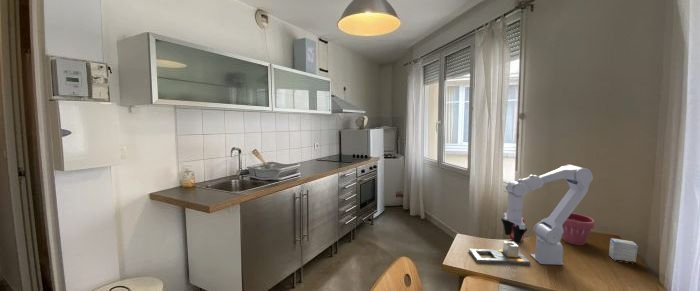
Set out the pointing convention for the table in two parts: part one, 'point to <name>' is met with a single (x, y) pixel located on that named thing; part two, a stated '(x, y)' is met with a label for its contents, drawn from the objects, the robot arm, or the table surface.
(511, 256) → the grey rectangular block
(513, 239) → the beverage can
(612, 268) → the table surface
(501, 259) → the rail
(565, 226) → the plant pot
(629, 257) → the medicine box
